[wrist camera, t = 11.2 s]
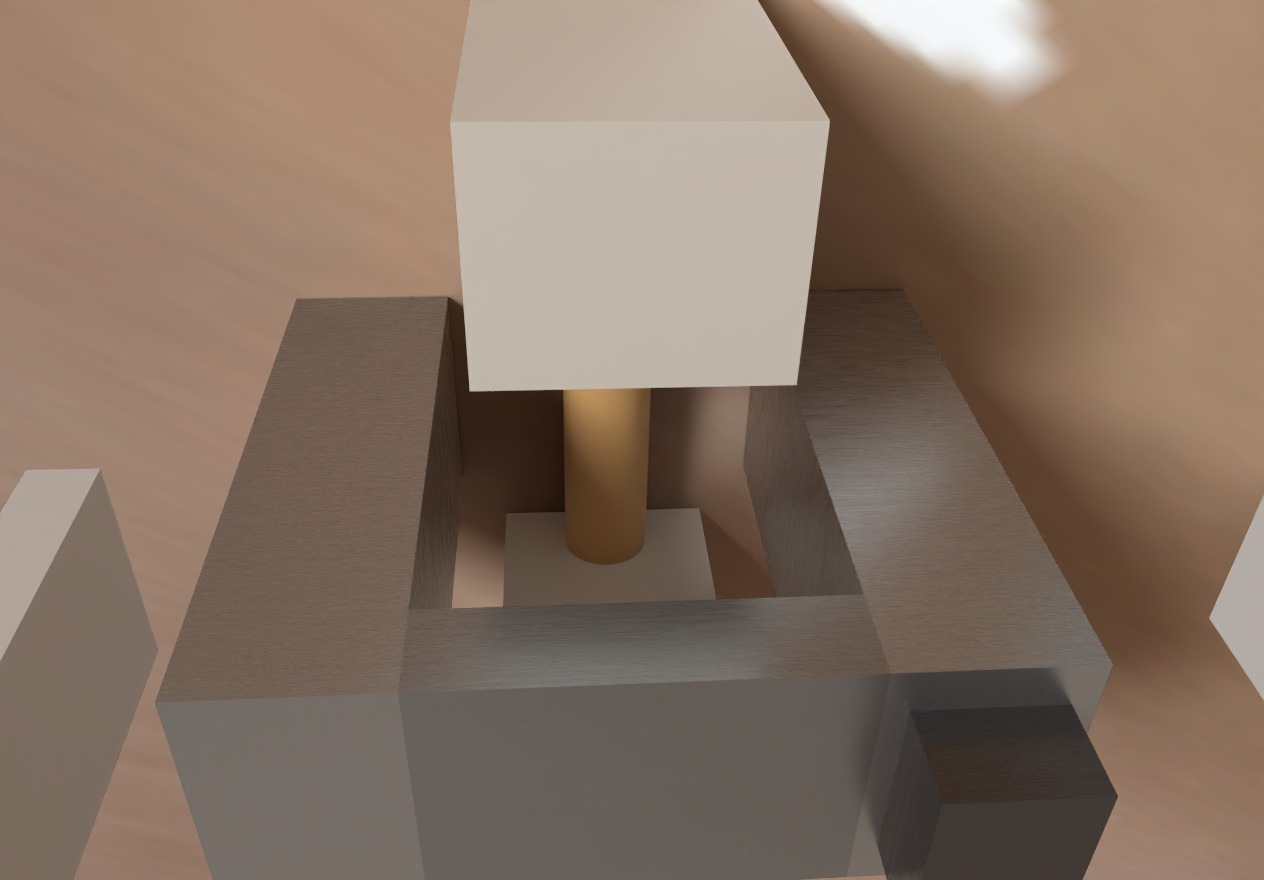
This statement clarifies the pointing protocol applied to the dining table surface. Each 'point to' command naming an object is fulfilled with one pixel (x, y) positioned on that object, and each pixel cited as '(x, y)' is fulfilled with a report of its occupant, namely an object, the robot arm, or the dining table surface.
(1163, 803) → the dining table surface
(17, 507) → the robot arm
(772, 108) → the white block dumbbell
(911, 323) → the gray notched block
